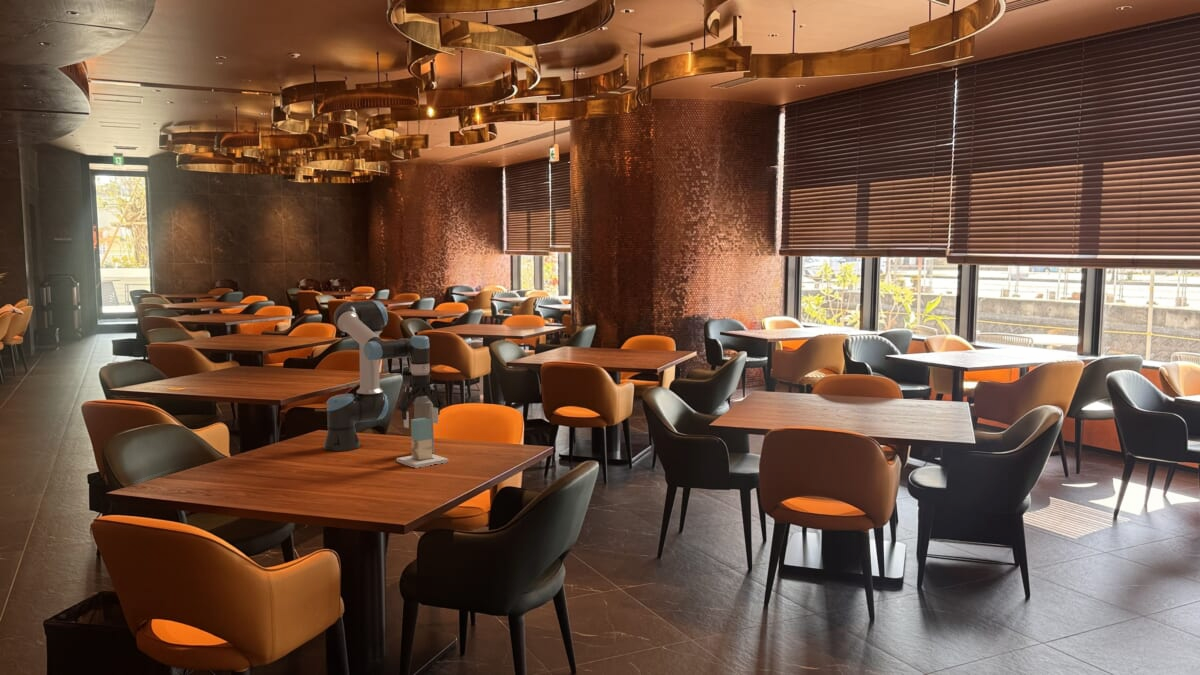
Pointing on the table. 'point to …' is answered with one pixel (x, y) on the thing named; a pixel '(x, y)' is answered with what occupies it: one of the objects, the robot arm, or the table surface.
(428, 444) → the maple block
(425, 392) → the robot arm
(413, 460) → the base plate
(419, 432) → the teal block
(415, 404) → the thermos bottle
